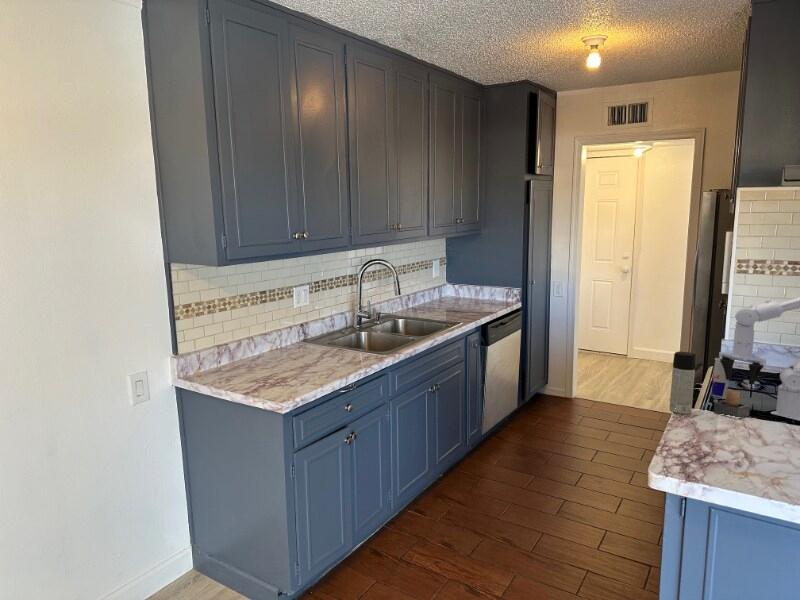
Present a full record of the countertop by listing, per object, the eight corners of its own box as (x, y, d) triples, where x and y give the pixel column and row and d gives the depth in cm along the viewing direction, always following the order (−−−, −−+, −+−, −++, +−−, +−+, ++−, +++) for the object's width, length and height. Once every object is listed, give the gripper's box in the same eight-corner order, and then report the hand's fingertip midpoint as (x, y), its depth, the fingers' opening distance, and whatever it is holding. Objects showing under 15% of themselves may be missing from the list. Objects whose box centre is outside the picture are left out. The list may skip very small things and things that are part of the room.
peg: (740, 415, 186) (742, 391, 185) (734, 416, 184) (736, 393, 183) (728, 412, 189) (730, 389, 188) (721, 413, 187) (723, 390, 186)
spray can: (693, 412, 188) (698, 353, 186) (687, 416, 183) (692, 355, 181) (672, 407, 192) (677, 350, 191) (666, 411, 187) (670, 352, 186)
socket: (749, 416, 185) (750, 405, 185) (737, 419, 181) (738, 408, 181) (725, 410, 191) (726, 400, 191) (713, 412, 187) (714, 402, 187)
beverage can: (712, 396, 210) (716, 356, 208) (728, 398, 207) (731, 358, 205) (709, 398, 206) (713, 358, 204) (725, 401, 203) (729, 360, 201)
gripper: (715, 340, 196) (712, 378, 197) (760, 347, 184) (756, 387, 185) (726, 339, 200) (723, 376, 201) (770, 345, 188) (766, 385, 189)
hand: (739, 381), depth 193 cm, fingers open, 7 cm apart
